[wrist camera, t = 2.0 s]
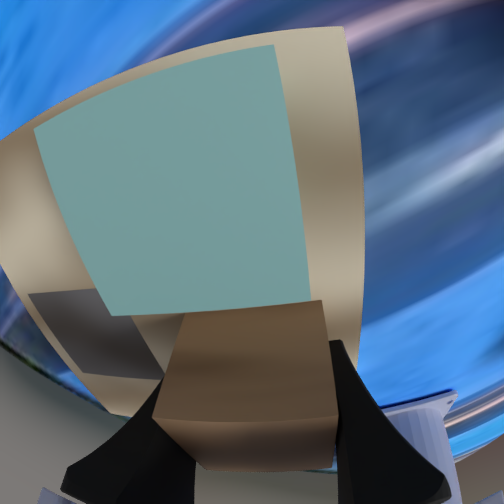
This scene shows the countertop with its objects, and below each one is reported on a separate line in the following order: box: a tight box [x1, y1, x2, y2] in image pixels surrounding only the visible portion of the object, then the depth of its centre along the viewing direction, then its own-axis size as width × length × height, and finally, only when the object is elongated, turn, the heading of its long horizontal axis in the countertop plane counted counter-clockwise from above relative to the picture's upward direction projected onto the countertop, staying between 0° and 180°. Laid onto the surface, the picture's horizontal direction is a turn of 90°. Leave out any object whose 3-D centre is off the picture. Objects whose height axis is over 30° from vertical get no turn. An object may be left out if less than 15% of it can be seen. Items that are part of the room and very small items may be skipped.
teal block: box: [34, 44, 311, 316], centre depth 6 cm, size 4×4×4 cm
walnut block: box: [152, 300, 339, 472], centre depth 10 cm, size 5×5×4 cm
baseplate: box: [0, 26, 365, 417], centre depth 12 cm, size 18×16×1 cm
